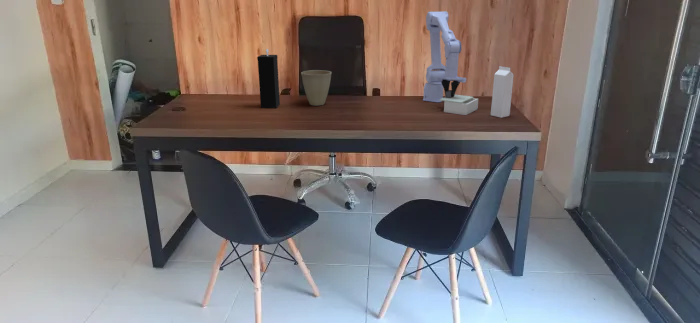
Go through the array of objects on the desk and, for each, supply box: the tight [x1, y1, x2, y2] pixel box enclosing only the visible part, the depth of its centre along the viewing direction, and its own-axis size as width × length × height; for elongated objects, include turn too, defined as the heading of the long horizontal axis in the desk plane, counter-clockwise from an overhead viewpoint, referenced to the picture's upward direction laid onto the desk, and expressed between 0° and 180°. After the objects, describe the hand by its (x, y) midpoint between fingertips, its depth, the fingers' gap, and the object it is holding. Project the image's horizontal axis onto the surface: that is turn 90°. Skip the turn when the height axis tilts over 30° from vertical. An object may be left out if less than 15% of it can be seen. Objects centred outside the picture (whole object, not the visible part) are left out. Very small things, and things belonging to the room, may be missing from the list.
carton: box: [443, 97, 479, 116], centre depth 232 cm, size 11×14×5 cm
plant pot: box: [301, 69, 332, 106], centre depth 245 cm, size 15×15×16 cm
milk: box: [490, 65, 514, 119], centre depth 220 cm, size 6×6×22 cm
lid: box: [439, 89, 474, 104], centre depth 232 cm, size 11×14×4 cm
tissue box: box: [256, 48, 281, 109], centre depth 239 cm, size 8×8×28 cm
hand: (449, 96), depth 235 cm, fingers closed on lid, 2 cm apart
